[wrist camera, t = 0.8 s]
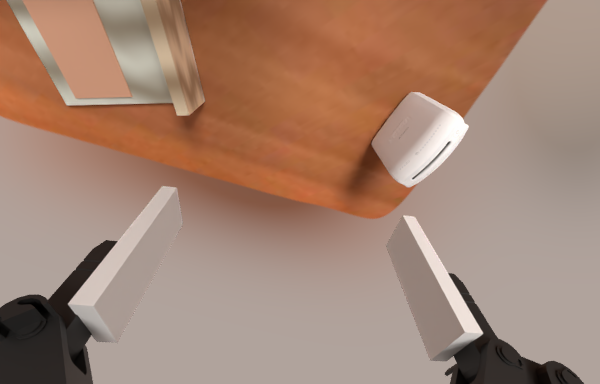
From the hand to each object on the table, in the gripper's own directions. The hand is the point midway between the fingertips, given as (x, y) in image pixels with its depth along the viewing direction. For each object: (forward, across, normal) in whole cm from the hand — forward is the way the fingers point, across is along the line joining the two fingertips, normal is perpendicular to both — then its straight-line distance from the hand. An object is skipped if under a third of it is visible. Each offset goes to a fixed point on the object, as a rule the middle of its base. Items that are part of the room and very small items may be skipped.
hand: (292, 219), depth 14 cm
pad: (+26, -28, +2) cm, 38 cm away
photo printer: (+26, +16, -1) cm, 31 cm away
